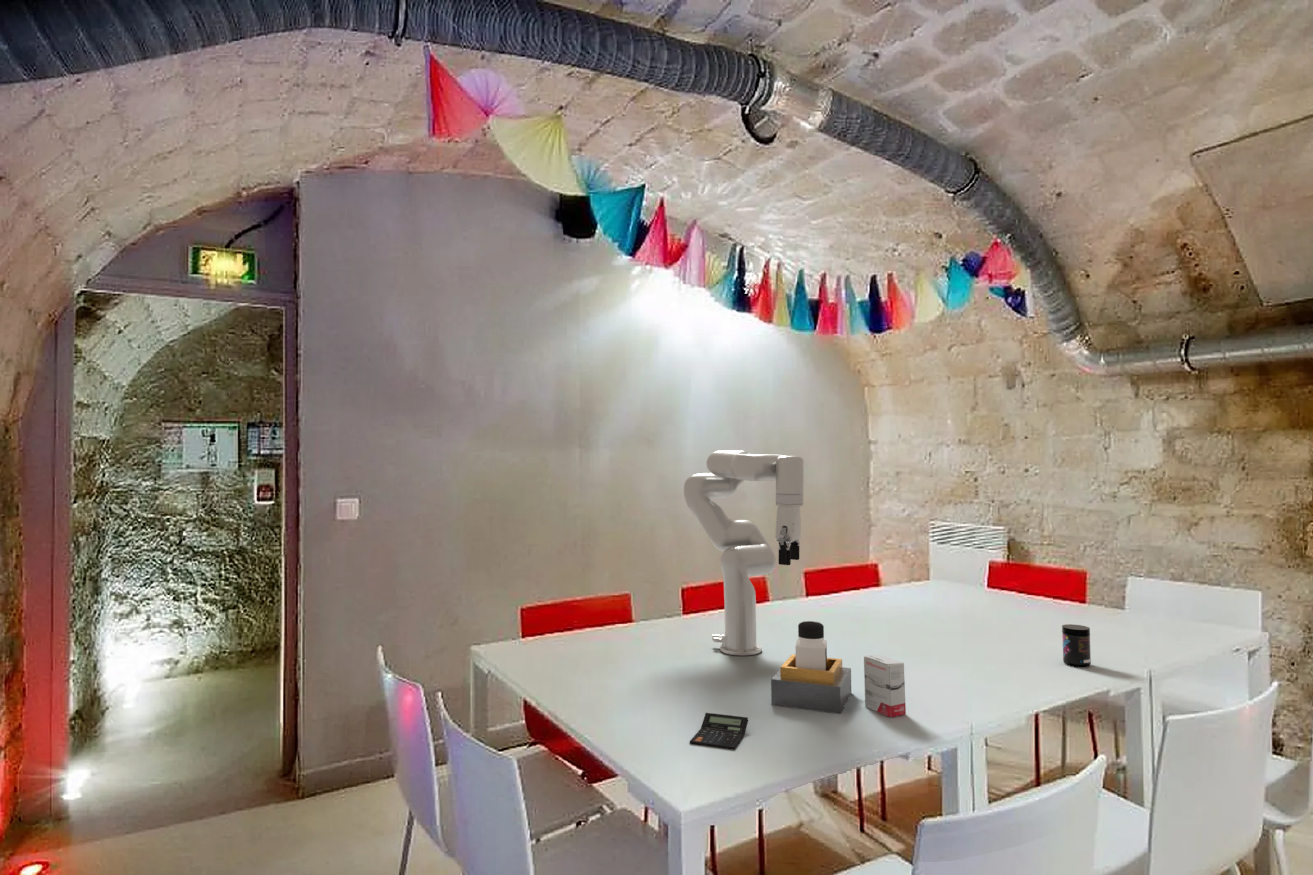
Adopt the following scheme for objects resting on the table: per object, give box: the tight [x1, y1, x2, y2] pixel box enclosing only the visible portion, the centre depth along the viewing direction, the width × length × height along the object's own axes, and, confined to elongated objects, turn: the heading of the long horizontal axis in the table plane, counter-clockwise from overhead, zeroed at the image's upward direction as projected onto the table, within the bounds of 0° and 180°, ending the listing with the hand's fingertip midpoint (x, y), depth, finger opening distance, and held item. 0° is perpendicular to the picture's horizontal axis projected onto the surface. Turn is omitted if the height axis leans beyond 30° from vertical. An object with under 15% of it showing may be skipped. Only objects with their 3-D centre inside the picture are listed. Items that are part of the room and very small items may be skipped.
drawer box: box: [770, 653, 852, 715], centre depth 174 cm, size 16×18×8 cm
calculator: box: [689, 712, 749, 751], centre depth 149 cm, size 9×12×3 cm
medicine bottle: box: [795, 620, 828, 671], centre depth 173 cm, size 7×7×12 cm
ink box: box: [863, 654, 907, 718], centre depth 164 cm, size 9×5×12 cm, turn 25°
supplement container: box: [1061, 623, 1092, 668], centre depth 199 cm, size 7×7×10 cm
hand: (789, 562), depth 198 cm, fingers open, 9 cm apart
